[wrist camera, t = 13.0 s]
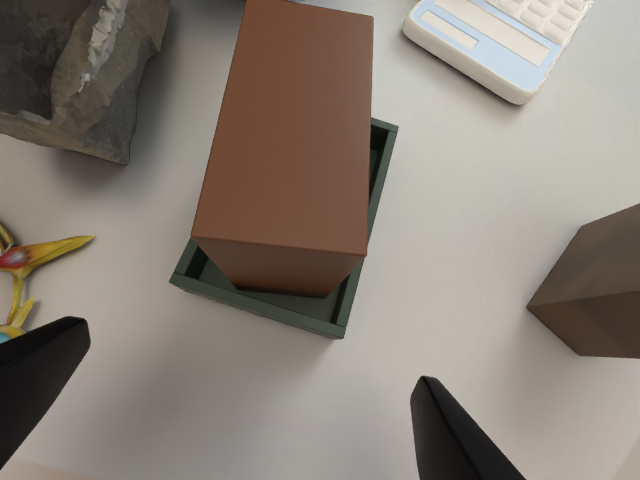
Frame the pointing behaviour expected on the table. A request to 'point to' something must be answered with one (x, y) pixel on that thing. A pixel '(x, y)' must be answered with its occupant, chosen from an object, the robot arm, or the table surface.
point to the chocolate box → (291, 152)
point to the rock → (76, 71)
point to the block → (596, 289)
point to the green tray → (296, 311)
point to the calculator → (498, 39)
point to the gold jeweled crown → (27, 272)
